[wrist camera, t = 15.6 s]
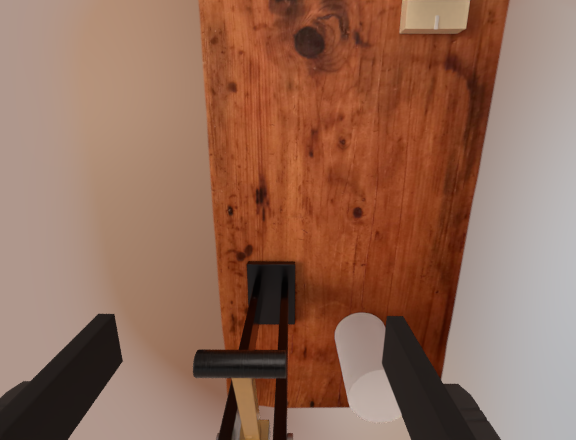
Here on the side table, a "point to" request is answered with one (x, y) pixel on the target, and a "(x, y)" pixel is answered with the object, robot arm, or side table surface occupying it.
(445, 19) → the plate
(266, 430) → the latch lever
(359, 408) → the light grey cylinder
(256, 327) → the latch bracket
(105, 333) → the robot arm
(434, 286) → the side table surface
